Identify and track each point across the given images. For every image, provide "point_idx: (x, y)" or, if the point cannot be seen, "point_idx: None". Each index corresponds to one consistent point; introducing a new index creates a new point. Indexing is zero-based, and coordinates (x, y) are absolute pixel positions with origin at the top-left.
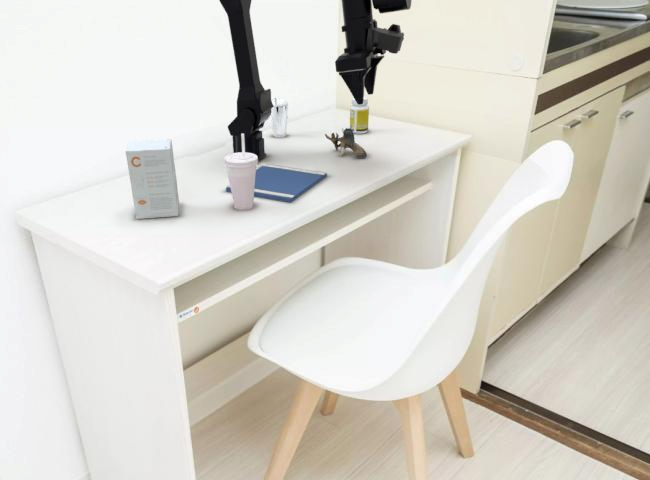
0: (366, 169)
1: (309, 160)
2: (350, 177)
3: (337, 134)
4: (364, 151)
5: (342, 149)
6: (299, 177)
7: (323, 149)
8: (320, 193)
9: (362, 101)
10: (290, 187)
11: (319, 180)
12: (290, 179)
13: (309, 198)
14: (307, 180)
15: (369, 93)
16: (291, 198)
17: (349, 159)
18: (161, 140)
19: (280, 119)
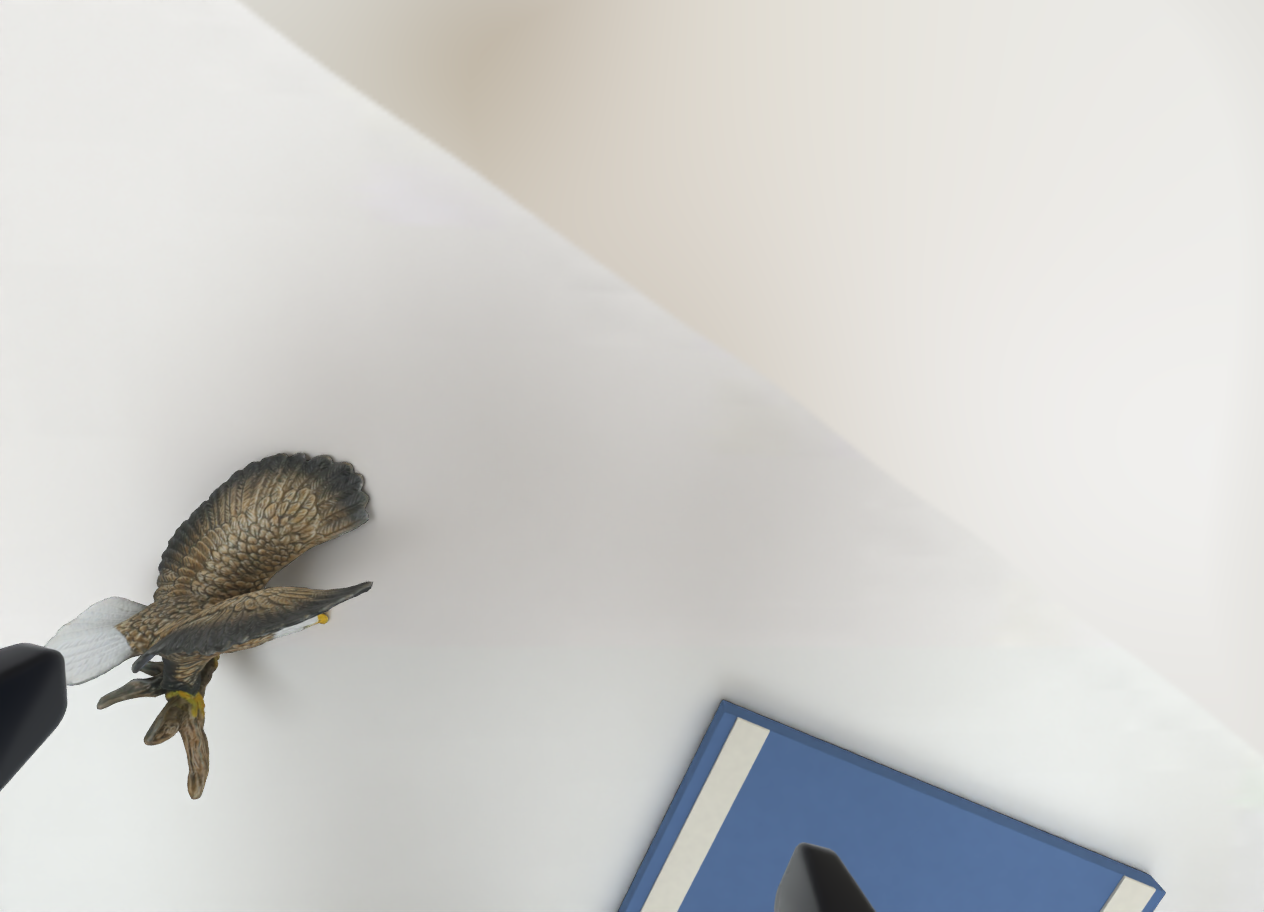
0: (581, 460)
1: (425, 797)
2: (739, 562)
3: (119, 694)
4: (268, 471)
5: (293, 626)
6: None
7: None
8: (1014, 729)
9: (858, 888)
10: (982, 899)
11: (819, 742)
12: None
13: (1090, 784)
14: (865, 816)
15: (56, 707)
16: (1155, 887)
17: (384, 563)
18: None
19: None
